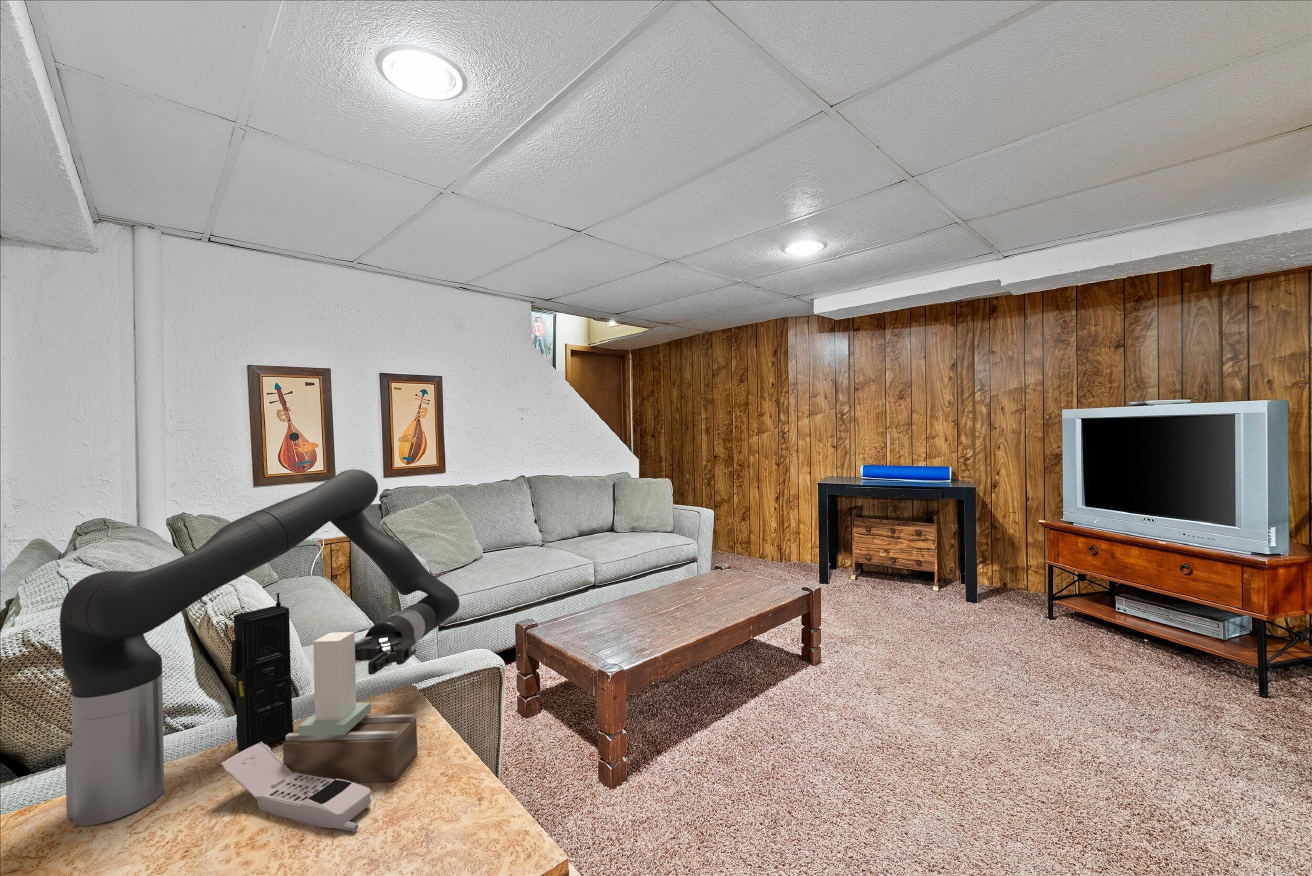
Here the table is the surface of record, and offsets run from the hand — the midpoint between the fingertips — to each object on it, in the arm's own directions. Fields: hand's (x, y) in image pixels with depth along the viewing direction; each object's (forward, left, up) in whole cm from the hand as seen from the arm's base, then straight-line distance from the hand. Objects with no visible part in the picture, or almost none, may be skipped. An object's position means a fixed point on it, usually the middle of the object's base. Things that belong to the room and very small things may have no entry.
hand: (344, 669), depth 86 cm
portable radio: (-18, +5, -15) cm, 24 cm away
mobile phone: (0, -11, -15) cm, 18 cm away
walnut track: (+3, -3, -15) cm, 15 cm away
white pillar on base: (0, -3, -7) cm, 8 cm away
